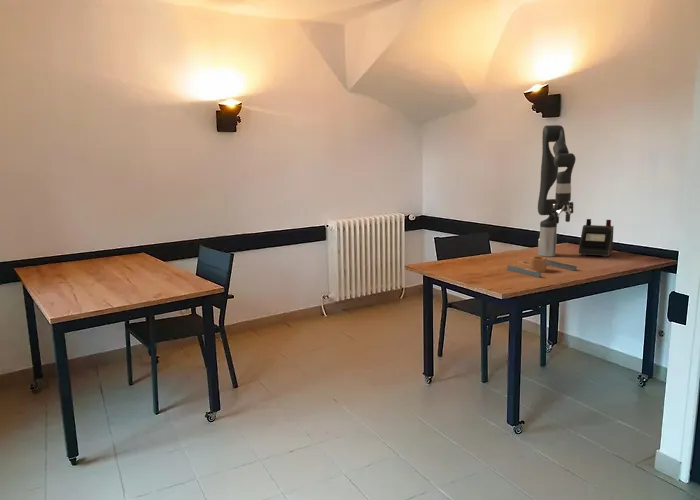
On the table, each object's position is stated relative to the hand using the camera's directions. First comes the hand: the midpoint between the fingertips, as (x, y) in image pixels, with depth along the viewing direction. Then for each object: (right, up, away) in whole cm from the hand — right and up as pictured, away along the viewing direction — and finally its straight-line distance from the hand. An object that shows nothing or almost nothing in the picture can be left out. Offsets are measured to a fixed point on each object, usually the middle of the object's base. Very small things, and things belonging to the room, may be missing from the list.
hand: (562, 222), depth 293 cm
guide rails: (-12, -25, -3) cm, 28 cm away
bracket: (-16, -25, +2) cm, 29 cm away
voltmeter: (+32, -18, +32) cm, 49 cm away
